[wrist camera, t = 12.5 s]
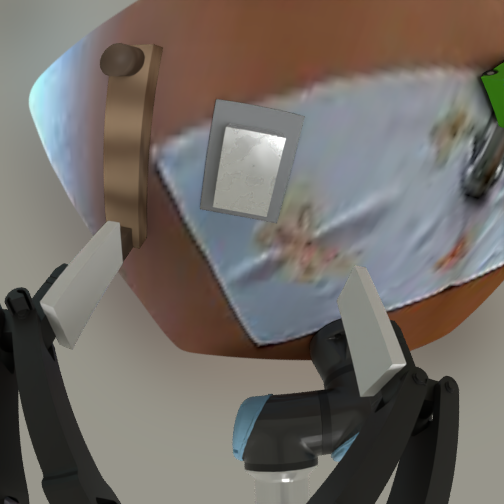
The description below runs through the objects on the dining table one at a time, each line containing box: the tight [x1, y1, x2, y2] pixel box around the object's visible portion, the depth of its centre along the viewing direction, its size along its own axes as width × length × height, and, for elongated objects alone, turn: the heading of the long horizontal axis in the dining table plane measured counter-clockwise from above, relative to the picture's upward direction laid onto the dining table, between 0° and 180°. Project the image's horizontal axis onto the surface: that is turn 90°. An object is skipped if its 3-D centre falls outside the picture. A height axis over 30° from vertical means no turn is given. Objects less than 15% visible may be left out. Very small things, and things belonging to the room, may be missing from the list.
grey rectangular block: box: [213, 123, 286, 217], centre depth 29 cm, size 9×6×4 cm, turn 169°
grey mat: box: [200, 99, 305, 223], centre depth 31 cm, size 14×10×1 cm
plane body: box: [100, 43, 163, 261], centre depth 25 cm, size 26×5×10 cm, turn 169°
